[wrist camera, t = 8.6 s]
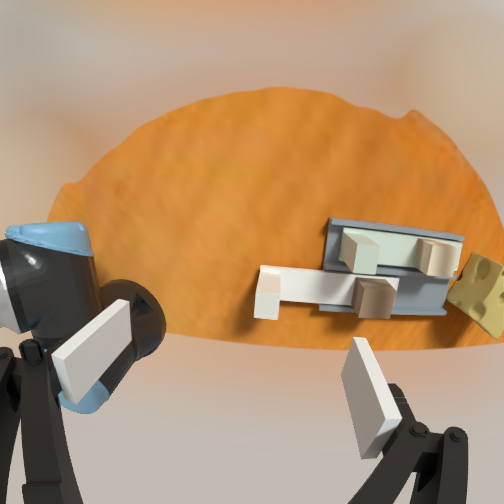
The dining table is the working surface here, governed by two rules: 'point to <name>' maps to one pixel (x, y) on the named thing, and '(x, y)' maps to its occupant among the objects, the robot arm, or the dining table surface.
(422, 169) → the dining table surface
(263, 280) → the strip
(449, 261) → the maple block
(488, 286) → the cheese
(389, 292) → the walnut block
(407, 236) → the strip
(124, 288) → the robot arm
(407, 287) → the lane board
